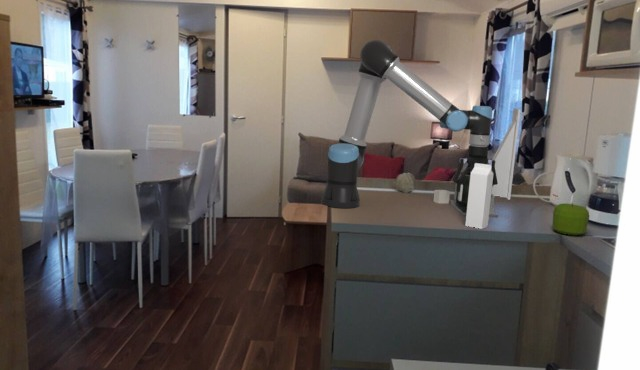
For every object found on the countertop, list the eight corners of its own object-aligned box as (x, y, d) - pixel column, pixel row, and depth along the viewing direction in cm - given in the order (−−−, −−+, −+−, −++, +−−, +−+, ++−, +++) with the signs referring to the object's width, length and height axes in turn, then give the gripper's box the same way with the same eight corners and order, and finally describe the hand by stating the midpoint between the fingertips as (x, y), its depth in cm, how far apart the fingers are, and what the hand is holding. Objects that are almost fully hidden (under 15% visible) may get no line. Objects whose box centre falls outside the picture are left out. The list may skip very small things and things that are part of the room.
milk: (471, 223, 189) (477, 162, 185) (488, 226, 186) (494, 164, 182) (464, 226, 184) (471, 163, 181) (481, 229, 181) (488, 165, 177)
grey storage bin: (463, 215, 200) (466, 193, 199) (448, 202, 224) (450, 181, 222) (497, 217, 200) (500, 194, 199) (479, 203, 224) (481, 183, 222)
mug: (482, 201, 218) (485, 172, 216) (489, 209, 204) (493, 178, 202) (455, 199, 219) (458, 170, 217) (460, 206, 205) (464, 176, 203)
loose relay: (438, 203, 220) (439, 191, 219) (433, 201, 224) (434, 190, 223) (448, 203, 222) (450, 191, 221) (443, 201, 226) (444, 189, 225)
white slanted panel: (475, 189, 259) (483, 106, 252) (505, 191, 256) (515, 108, 248) (476, 196, 240) (486, 107, 233) (510, 199, 237) (520, 109, 229)
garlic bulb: (413, 197, 243) (422, 178, 240) (403, 196, 236) (413, 176, 234) (397, 187, 248) (406, 168, 246) (387, 186, 242) (397, 167, 240)
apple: (555, 236, 177) (559, 204, 175) (547, 228, 188) (551, 198, 186) (590, 239, 175) (595, 207, 174) (580, 231, 186) (585, 200, 184)
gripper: (452, 145, 204) (446, 201, 208) (510, 148, 204) (504, 204, 208) (447, 143, 211) (442, 197, 215) (504, 146, 211) (497, 200, 215)
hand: (472, 200), depth 212 cm, fingers closed on mug, 10 cm apart
